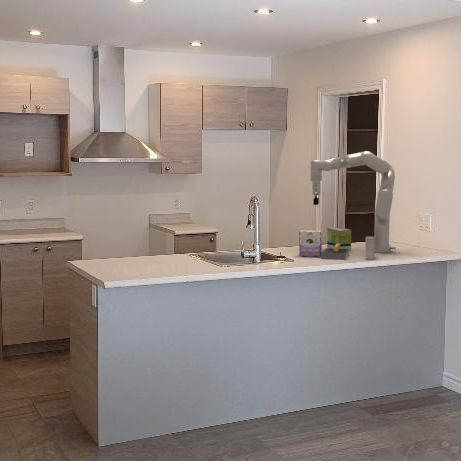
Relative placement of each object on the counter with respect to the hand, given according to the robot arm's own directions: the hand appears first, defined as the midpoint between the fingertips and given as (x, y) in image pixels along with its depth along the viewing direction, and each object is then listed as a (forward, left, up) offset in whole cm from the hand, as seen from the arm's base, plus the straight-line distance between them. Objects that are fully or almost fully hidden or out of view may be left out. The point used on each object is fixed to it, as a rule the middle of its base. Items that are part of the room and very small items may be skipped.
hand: (316, 204), depth 487 cm
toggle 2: (-17, +33, -26) cm, 46 cm away
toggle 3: (-17, +22, -26) cm, 38 cm away
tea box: (-15, -2, -31) cm, 35 cm away
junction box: (-38, +28, -31) cm, 56 cm away
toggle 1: (-17, +28, -26) cm, 42 cm away
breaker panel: (-16, +28, -31) cm, 44 cm away
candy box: (-1, +29, -31) cm, 42 cm away
